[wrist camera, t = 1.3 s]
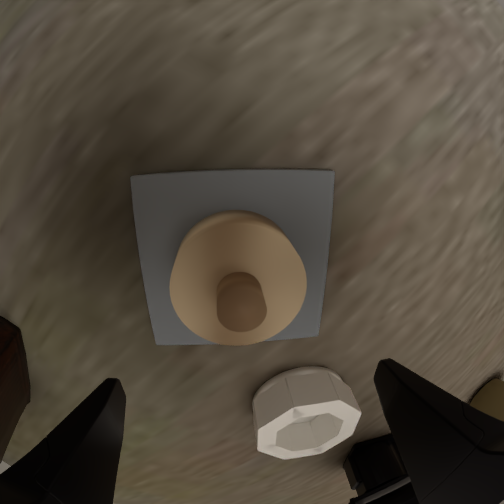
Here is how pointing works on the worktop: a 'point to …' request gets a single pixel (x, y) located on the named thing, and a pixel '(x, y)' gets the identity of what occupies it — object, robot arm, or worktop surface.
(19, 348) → the manual coffee grinder
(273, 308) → the lid
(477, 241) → the worktop surface
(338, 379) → the bowl
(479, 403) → the squeeze bottle
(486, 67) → the worktop surface
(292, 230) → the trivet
